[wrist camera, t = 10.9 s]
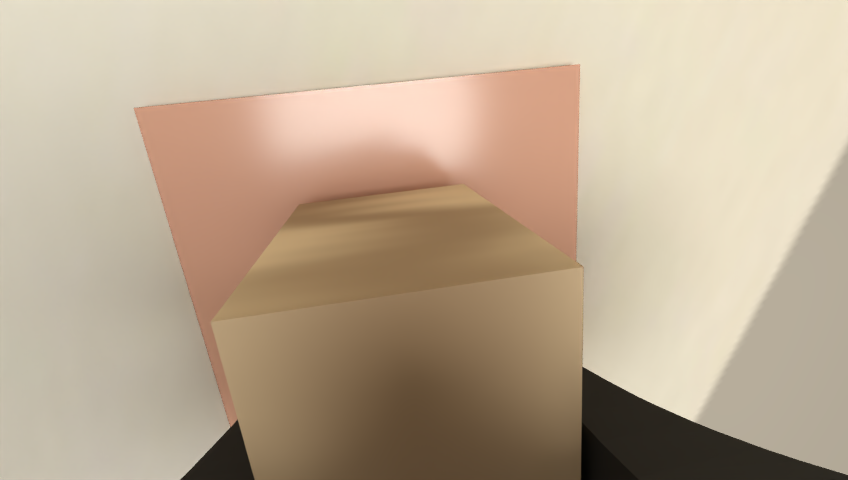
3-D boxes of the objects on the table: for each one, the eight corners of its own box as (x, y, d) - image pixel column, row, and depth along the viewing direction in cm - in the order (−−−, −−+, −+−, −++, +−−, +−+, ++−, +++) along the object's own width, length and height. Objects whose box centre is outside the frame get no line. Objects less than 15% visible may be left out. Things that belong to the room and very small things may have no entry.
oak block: (345, 442, 12) (326, 736, 6) (298, 204, 10) (210, 322, 4) (480, 418, 12) (578, 673, 7) (463, 183, 10) (583, 266, 5)
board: (260, 504, 14) (257, 515, 14) (142, 107, 10) (133, 107, 10) (567, 446, 15) (572, 455, 15) (572, 65, 11) (580, 64, 11)
